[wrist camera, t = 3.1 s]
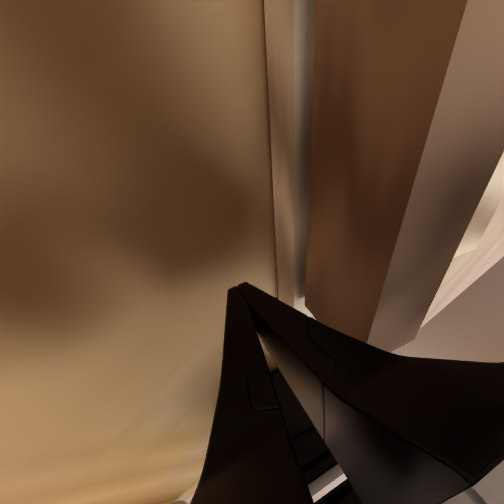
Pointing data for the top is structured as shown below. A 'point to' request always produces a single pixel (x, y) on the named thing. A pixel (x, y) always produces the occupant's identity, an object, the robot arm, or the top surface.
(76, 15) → the top surface
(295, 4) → the stool seat
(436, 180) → the walnut leg
